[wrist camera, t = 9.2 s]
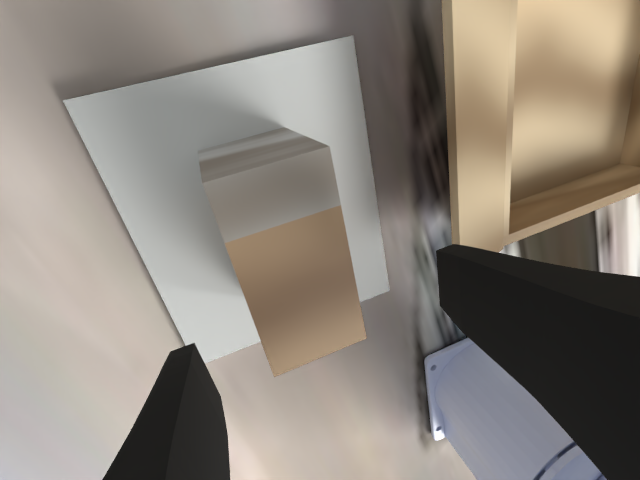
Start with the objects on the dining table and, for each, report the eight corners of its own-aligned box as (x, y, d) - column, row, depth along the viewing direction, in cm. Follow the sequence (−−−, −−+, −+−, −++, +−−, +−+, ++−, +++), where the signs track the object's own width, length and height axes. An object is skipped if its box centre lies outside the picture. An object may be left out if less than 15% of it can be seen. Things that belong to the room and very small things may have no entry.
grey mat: (385, 286, 23) (389, 290, 22) (196, 360, 20) (196, 366, 20) (349, 36, 16) (353, 35, 16) (66, 100, 14) (62, 100, 13)
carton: (655, 152, 26) (750, 166, 22) (404, 245, 22) (458, 285, 17) (706, -77, 20) (851, -123, 16) (375, -12, 16) (446, -49, 11)
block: (320, 272, 20) (366, 338, 15) (250, 297, 19) (274, 377, 14) (284, 127, 16) (329, 146, 11) (197, 150, 16) (202, 183, 10)
